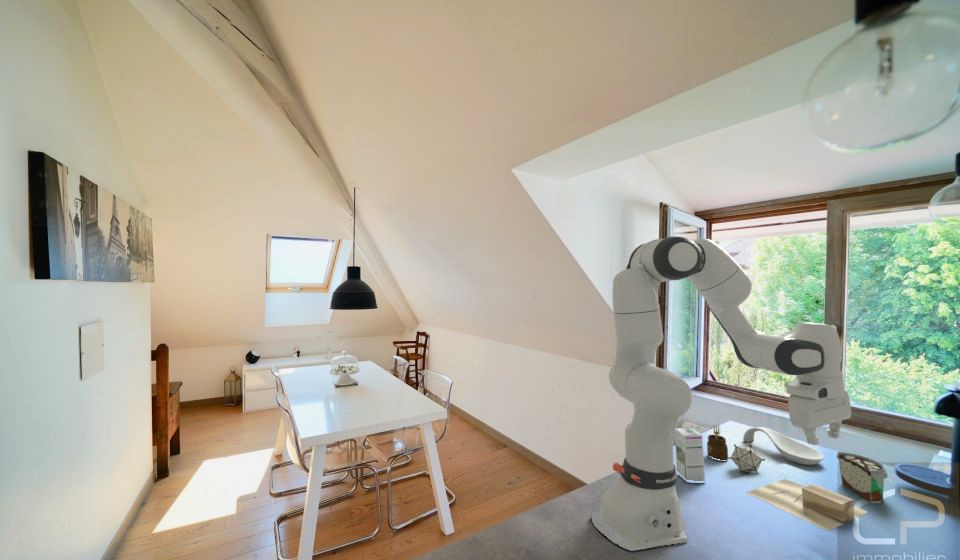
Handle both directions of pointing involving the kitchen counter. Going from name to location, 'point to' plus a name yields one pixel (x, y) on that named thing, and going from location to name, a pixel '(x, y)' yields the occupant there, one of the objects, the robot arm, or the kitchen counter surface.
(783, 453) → the spoon rest
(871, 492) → the food container
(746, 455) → the game die
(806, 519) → the board
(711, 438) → the utensil holder
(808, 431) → the robot arm
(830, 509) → the block
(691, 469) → the syrup box
